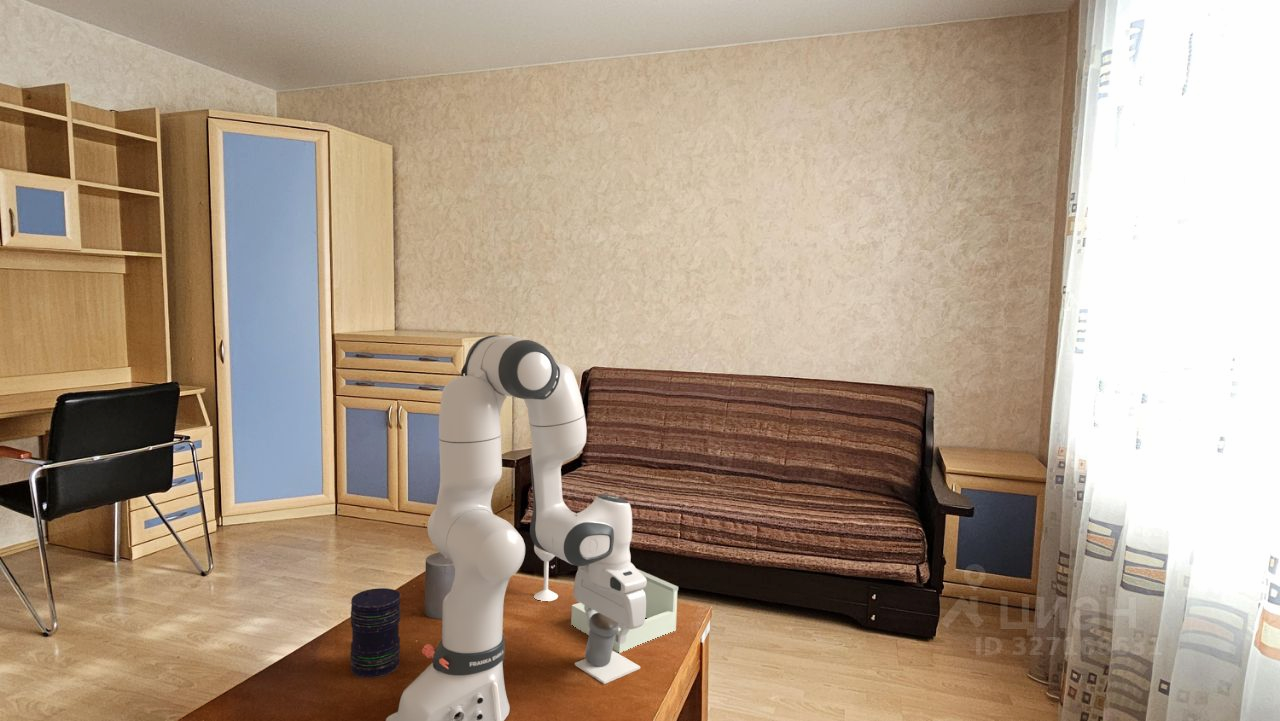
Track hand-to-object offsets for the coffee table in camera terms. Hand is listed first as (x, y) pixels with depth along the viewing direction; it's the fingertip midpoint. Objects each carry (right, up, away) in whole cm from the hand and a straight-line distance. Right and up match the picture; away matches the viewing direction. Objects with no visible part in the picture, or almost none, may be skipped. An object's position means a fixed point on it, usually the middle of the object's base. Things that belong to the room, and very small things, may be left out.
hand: (606, 633), depth 151 cm
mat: (0, -7, +1) cm, 8 cm away
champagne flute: (-18, -5, +37) cm, 41 cm away
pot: (-2, -6, +2) cm, 7 cm away
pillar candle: (-42, -5, +26) cm, 49 cm away
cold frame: (+3, -6, +20) cm, 21 cm away
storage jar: (-49, -6, -2) cm, 49 cm away
